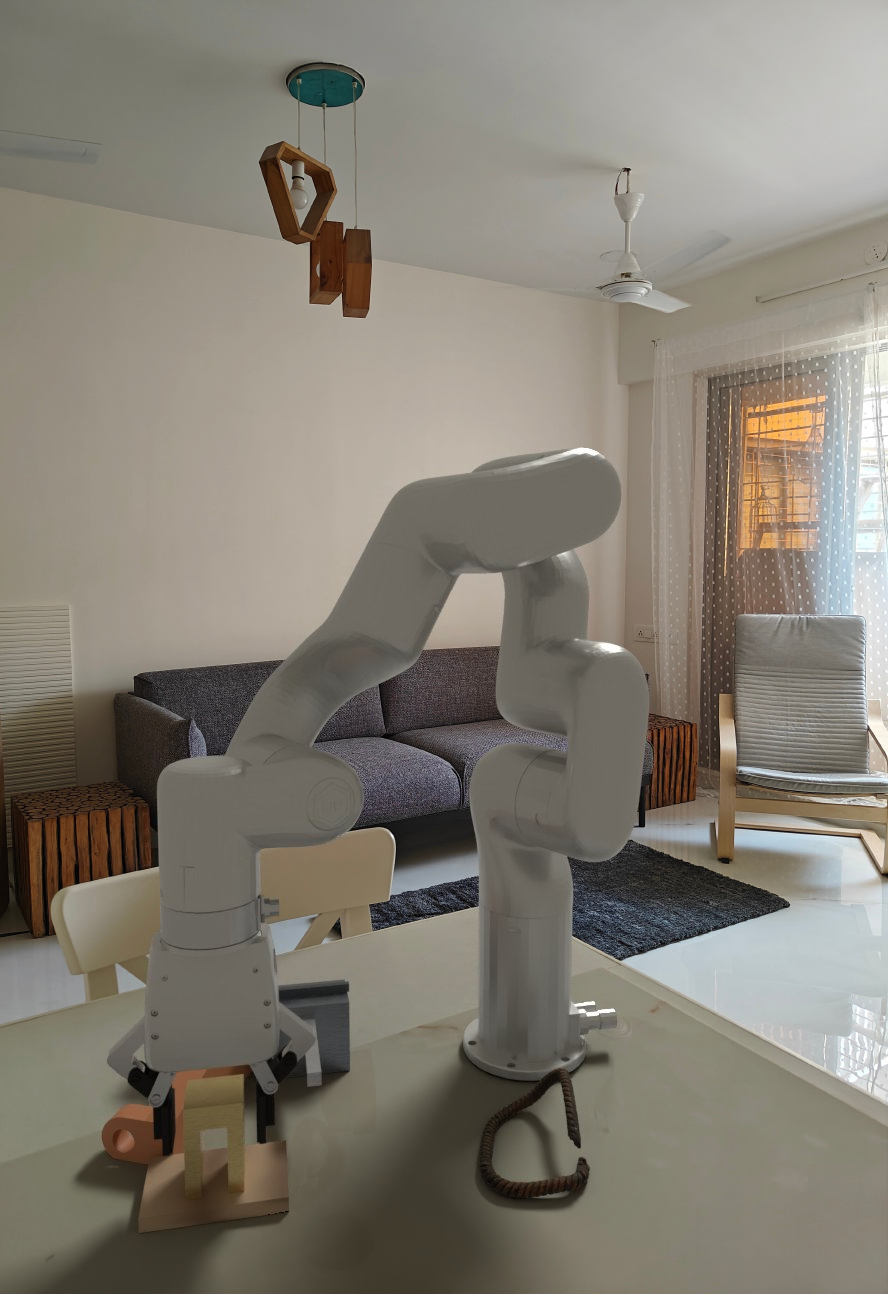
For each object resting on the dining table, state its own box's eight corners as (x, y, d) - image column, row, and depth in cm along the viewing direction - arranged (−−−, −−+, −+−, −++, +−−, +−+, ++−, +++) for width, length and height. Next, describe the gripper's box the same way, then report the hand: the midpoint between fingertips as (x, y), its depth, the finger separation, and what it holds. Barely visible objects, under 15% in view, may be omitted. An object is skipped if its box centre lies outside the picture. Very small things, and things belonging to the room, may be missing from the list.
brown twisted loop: (574, 1173, 67) (451, 1136, 71) (572, 1235, 68) (452, 1195, 72) (614, 1068, 79) (507, 1041, 83) (613, 1122, 80) (507, 1092, 84)
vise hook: (346, 1038, 94) (345, 967, 93) (363, 1132, 78) (362, 1047, 77) (264, 1047, 92) (263, 974, 91) (265, 1145, 76) (264, 1057, 76)
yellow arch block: (245, 1158, 73) (243, 1074, 72) (244, 1191, 69) (242, 1102, 68) (189, 1165, 72) (187, 1080, 71) (185, 1199, 68) (183, 1109, 67)
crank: (204, 1036, 95) (202, 964, 94) (274, 1046, 93) (273, 972, 92) (88, 1156, 75) (85, 1066, 75) (173, 1171, 73) (171, 1079, 73)
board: (286, 1153, 75) (286, 1140, 75) (289, 1211, 68) (288, 1196, 68) (150, 1171, 73) (149, 1157, 73) (138, 1233, 66) (138, 1217, 66)
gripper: (321, 893, 74) (323, 1098, 76) (101, 909, 71) (107, 1124, 72) (327, 928, 67) (330, 1155, 68) (82, 947, 63) (90, 1186, 65)
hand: (215, 1137), depth 70 cm, fingers open, 6 cm apart
